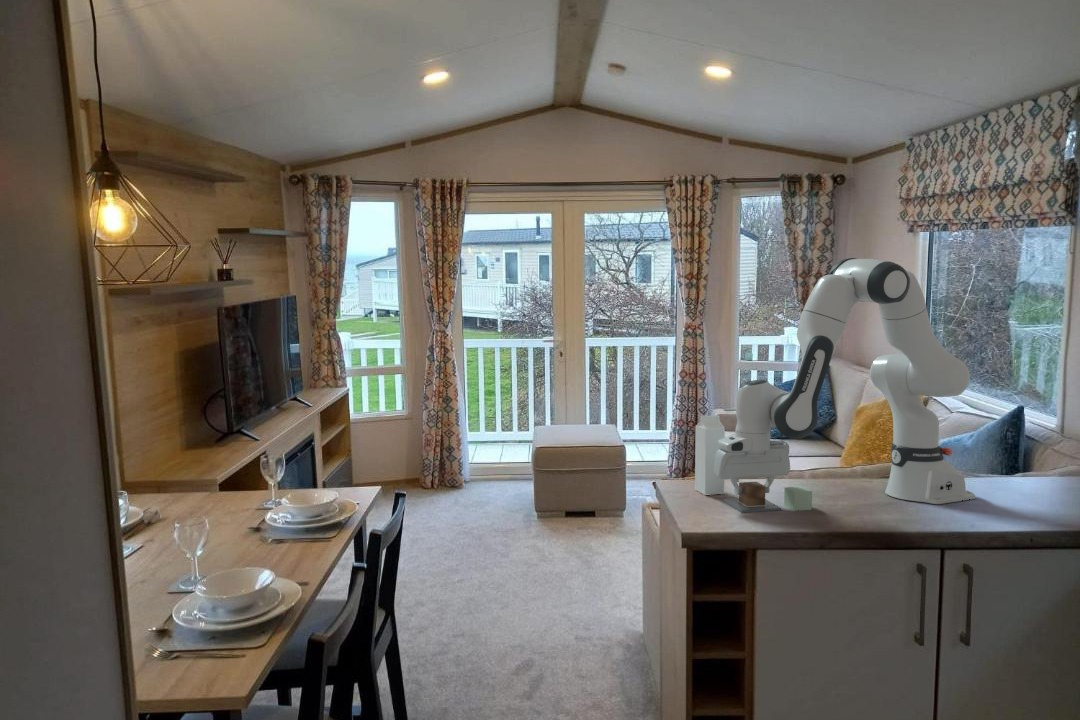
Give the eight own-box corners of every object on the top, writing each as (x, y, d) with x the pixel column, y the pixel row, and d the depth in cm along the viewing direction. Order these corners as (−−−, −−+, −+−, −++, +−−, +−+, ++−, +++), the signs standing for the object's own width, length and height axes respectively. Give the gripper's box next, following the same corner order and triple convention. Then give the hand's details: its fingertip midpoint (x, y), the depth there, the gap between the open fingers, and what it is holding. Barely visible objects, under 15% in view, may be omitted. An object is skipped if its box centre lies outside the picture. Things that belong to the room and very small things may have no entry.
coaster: (761, 498, 198) (761, 496, 198) (781, 510, 187) (781, 507, 187) (723, 501, 196) (723, 498, 196) (741, 512, 185) (741, 510, 185)
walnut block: (756, 499, 194) (756, 481, 194) (765, 505, 189) (765, 486, 189) (738, 500, 193) (739, 482, 193) (747, 506, 189) (747, 487, 188)
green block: (801, 504, 192) (801, 486, 192) (811, 509, 187) (812, 491, 187) (784, 505, 191) (784, 487, 191) (794, 511, 187) (794, 492, 186)
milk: (724, 494, 203) (725, 416, 201) (704, 496, 201) (706, 417, 199) (713, 489, 209) (714, 413, 207) (694, 490, 207) (695, 414, 205)
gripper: (783, 437, 195) (782, 488, 196) (711, 441, 191) (711, 492, 193) (795, 442, 189) (794, 494, 190) (721, 445, 185) (721, 498, 186)
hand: (751, 493), depth 191 cm, fingers open, 6 cm apart
